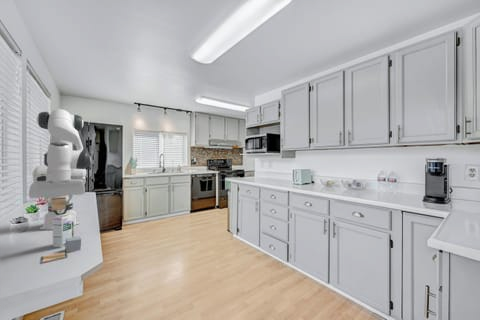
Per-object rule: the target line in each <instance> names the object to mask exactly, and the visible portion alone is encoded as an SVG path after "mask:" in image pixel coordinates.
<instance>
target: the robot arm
mask: <svg viewBox="0 0 480 320" xmlns="http://www.w3.org/2000/svg"><path fill="white" fill-rule="evenodd" d="M36 123H37V125H38V126H39V128H41V129H43V130H48V134H50V140H49V144H48V147H47V152H45V153H44V154H43V156H44V157H43V158H44V159H43V165H40V166H36V167H35V168H34V169H33V171H32V173H31V174H32V181H33V182H32V183H31V184H30V186H29V190H28V197H29V198H30V199H39V198H40V199H42V198H44V199H43V200H44V202H45V203H46V204H47V213H45V215H44V217H43V218H44V222H43V225H42V226H41V227H39V230H41V231H42V230H43V231H44V230H46V231H48V230H50V231H53V217H57V216H61V215H64V214H71V215H73V216H74V226H76V225H80V221H78V220H76V218H77V216H76V213H77V212H76V211H75V210H74V205H73V204H74V203H73V196H79V195H84V194H85V193H86V187H85V186H86V185H85V184H86V183H87V179H86V176H87V170H86V169H87V168H88V167H90V165H91V163H92V157H91V154H90V152H89V151H88V147H87V145H86V143H85V140H84V137H83V134H82V133H81V130H83V128H84V120H83V117H82V116H80V115H79V114H71V113H70V112H69V111H67V110H65V109H62V108H57V109H53V110H52V111H51V112H48V111H41V112H39V113H38V115H37V116H36ZM73 145H75V148H76V150H73V149H74V148H73ZM61 197H66V209H63V210H54V211H51V201H52V198H61Z"/></svg>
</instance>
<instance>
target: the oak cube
mask: <svg viewBox="0 0 480 320" xmlns="http://www.w3.org/2000/svg"><path fill="white" fill-rule="evenodd" d="M63 209H66V197H61V198H52V201H51V211H54V210H63Z"/></svg>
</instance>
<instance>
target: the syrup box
mask: <svg viewBox="0 0 480 320" xmlns="http://www.w3.org/2000/svg"><path fill="white" fill-rule="evenodd" d="M74 226H75V225H74V216H73V215H71V214H64V215H61V216H57V217H53V230H52V247H54V248H65V244H66V238H73V237H74Z"/></svg>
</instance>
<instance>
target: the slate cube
mask: <svg viewBox="0 0 480 320" xmlns="http://www.w3.org/2000/svg"><path fill="white" fill-rule="evenodd" d="M81 247H82V238H81V236H75V237H73V238H66V244H65V247H64V251H66V253H67V254H68V253H72V252H77V251H81V250H82V249H81Z"/></svg>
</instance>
